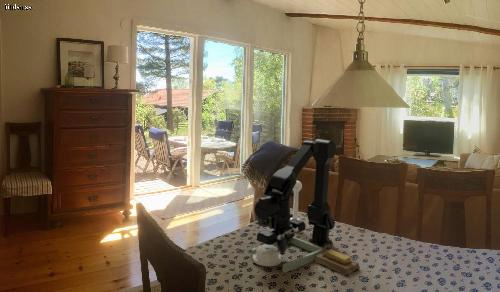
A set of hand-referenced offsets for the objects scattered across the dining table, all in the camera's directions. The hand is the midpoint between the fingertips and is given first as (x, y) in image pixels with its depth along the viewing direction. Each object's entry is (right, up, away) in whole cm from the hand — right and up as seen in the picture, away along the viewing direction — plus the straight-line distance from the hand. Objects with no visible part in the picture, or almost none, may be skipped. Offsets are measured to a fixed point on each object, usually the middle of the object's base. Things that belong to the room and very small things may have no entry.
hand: (282, 254), depth 136 cm
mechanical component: (-5, -2, -1) cm, 6 cm away
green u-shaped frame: (+2, -1, +3) cm, 4 cm away
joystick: (+6, +3, +32) cm, 33 cm away
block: (+18, -3, -3) cm, 19 cm away
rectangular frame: (+18, -3, -3) cm, 19 cm away
